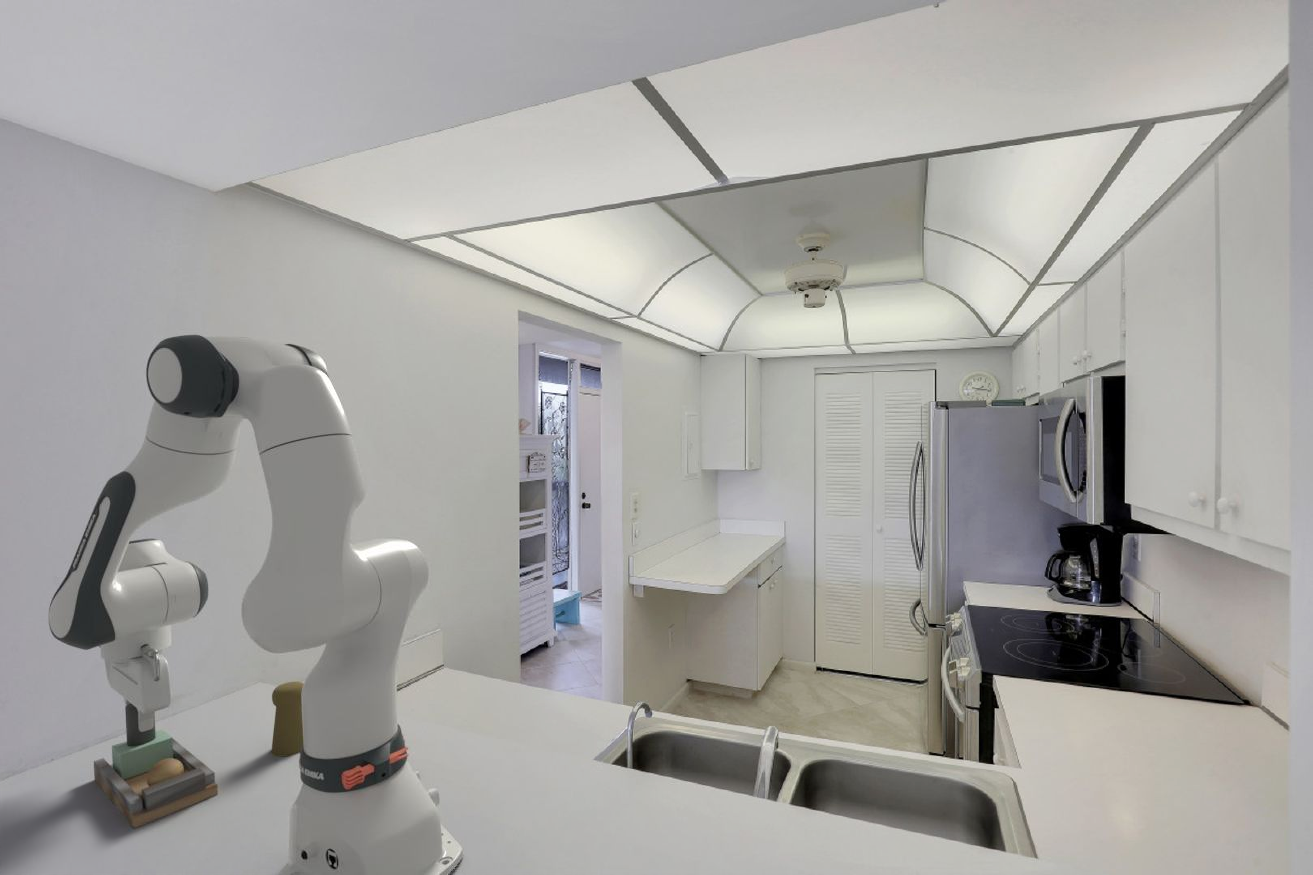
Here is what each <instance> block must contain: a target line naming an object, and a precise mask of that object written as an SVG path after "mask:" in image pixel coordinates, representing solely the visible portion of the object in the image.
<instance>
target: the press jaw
mask: <svg viewBox="0 0 1313 875" xmlns="http://www.w3.org/2000/svg"><path fill="white" fill-rule="evenodd" d="M124 708H125V713H124V714H125V728H126V730H125V731H126V732H125V733H126V734H125V735H126V741H123V742H119V743H116V744H114V745H111V758H112V764H113V769H114V770H115V771H116V772H117V773H118V775H119V776H120V777H121V778H122V779H123V780H125V779H128V778H130V777H133V776H136V775H139V774H141V773H144V772H147V771H150V769H151V768H152V767H153V766H154V765H155V764H156V763H157V762H159V761H161V760H163V759H167V758H173V739H174V738H173V737H172V736H171V735H170V734H169V733H168V732H166V731H165V730H164V729H160V730H156V718H155V715H156V713H155V714H154V717H153V719H154V726H153V728H152V729H150V730H147V731H144V732H141V731H139V729H138V728H137V719H138V711H137V708H136V707H135V706H134V705H133V704H131V703H130V704H128V705H127V706H126V705H125V707H124ZM172 738H173V739H172Z"/></svg>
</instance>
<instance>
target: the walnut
mask: <svg viewBox="0 0 1313 875" xmlns="http://www.w3.org/2000/svg"><path fill="white" fill-rule="evenodd" d="M183 773H184V767H183V765H182V763H181V762H180V761H179V760H177V759H173V758H167V759H163V760H161V761H159V762H157V763H156V764H155V765H154V766H153V767H152V768H151V769H150V771H149V772H148V775H147V784H148V786H152V785H155V784H157V783H160V782H162V781H165V780H168V779H170V778H173V777H176V776H178V775H181V774H183Z"/></svg>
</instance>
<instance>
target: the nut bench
mask: <svg viewBox="0 0 1313 875" xmlns="http://www.w3.org/2000/svg"><path fill="white" fill-rule="evenodd" d="M172 739H173V759H177V760H179V761H180V762H181V763H182V765H183V767H184V773H183V774H181V775H178V776H176V777H173V778H170V779H168V780H165V781H162V782H160V783H157V784H155V785H152V786H148V784H147V775H148V772H149V771H147V772H144V773H141V774H139V775H136V776H133V777H130V778H128V779H125V780H123V779H122V778H121V777H120V776H119V775H118V773H117V772H116V771H115V770H114V769H113V763H112V764H109V762H108V761H107V760H106V759H105V758H99V759H96V760H93V776H94V781H95V782H96V783H97V785H98V786H99V787H100V789H102V791H103V792H104V793H105V795H106V796H107V797H108V798H109V799H110V800H111V801H112V803H113V804H114V805H115V806H116V808H117V809H118V810H119V811H120V812H121V814H122V815H123V816H124V818H125V819H126V820H127V821H128V823H129V824H130V825H131V826H132V827H133V829H137V828H139V827H141V826H145V825H146V824H149V823H150V822H154V821H156V820H158V819H161V818H163V817H165V816H168V815H171V814H172V813H176V812H178V811H180V810H182V809H185V808H188V807H190V806H192V805H195V804H197V803H199V802H202V801H205V800H207V799H210V798H212V797H214V796H216V795H219V794H218V793H219V791H218V790H219V788H218V783H217V782H216V776H215V775H216V773H215V771H213V770H212V769H211V768H209V767H208V766H207V765H206V764H205V763H204V762H202V761H201V760H200V759H198V758H197V756H195V755H194V754H192V753H191V751H189V750H188V749H187V748H186V747H184V746H183V745H181V744H180V743H179V742H178V741H176V740H175V739H174V737H172Z"/></svg>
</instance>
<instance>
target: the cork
mask: <svg viewBox="0 0 1313 875" xmlns="http://www.w3.org/2000/svg"><path fill="white" fill-rule="evenodd" d="M303 685H304V682H301V681H289V682H285V683H282V684H280V685H278V686H277V687H275V688H274V689H273V690H272V694H271V701H272V705H274V706H275V714H274V721H273V722H274V724H273V732H272V742H271V743H272V744H271V755H272V756H276V757H286V756H292V755H295V754H298V753H299V754H300V750H301V747H302V746H303V722H302V700H301V694H302V688H303Z"/></svg>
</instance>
